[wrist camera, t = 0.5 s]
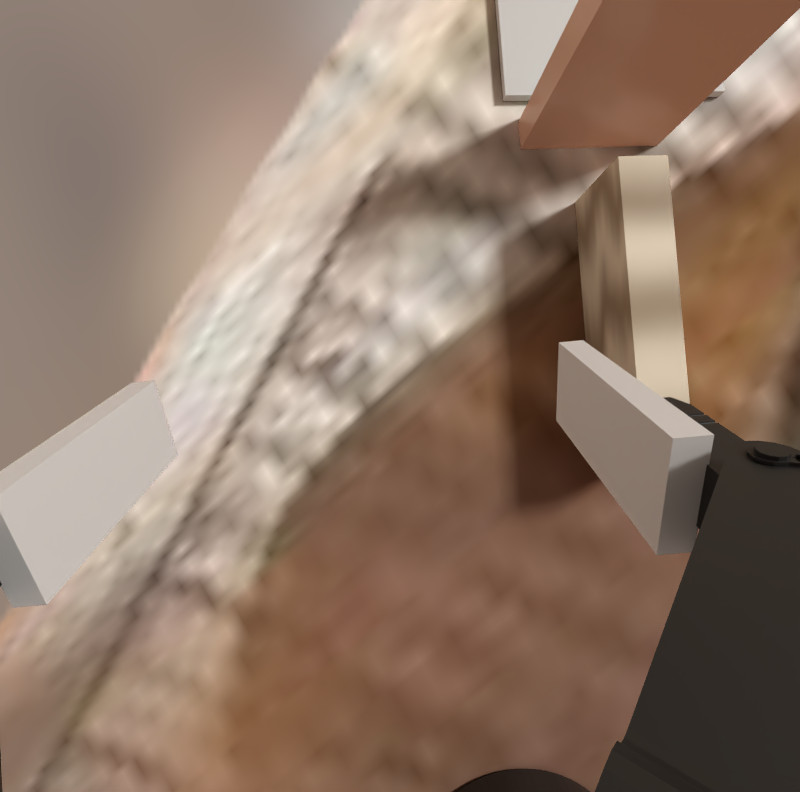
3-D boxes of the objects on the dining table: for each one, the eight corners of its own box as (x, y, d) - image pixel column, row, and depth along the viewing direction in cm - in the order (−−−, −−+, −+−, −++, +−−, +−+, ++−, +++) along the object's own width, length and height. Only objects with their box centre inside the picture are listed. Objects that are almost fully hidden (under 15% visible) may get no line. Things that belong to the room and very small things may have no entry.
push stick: (635, 456, 32) (694, 464, 27) (593, 458, 32) (644, 467, 26) (614, 203, 33) (667, 155, 27) (573, 204, 33) (618, 156, 27)
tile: (656, 145, 34) (814, -6, 22) (520, 149, 33) (605, -5, 21) (653, 114, 34) (808, -54, 22) (518, 117, 33) (601, -54, 21)
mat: (718, 96, 34) (724, 91, 34) (503, 101, 33) (505, 95, 32) (700, -72, 35) (706, -81, 34) (489, -73, 34) (491, -82, 33)
